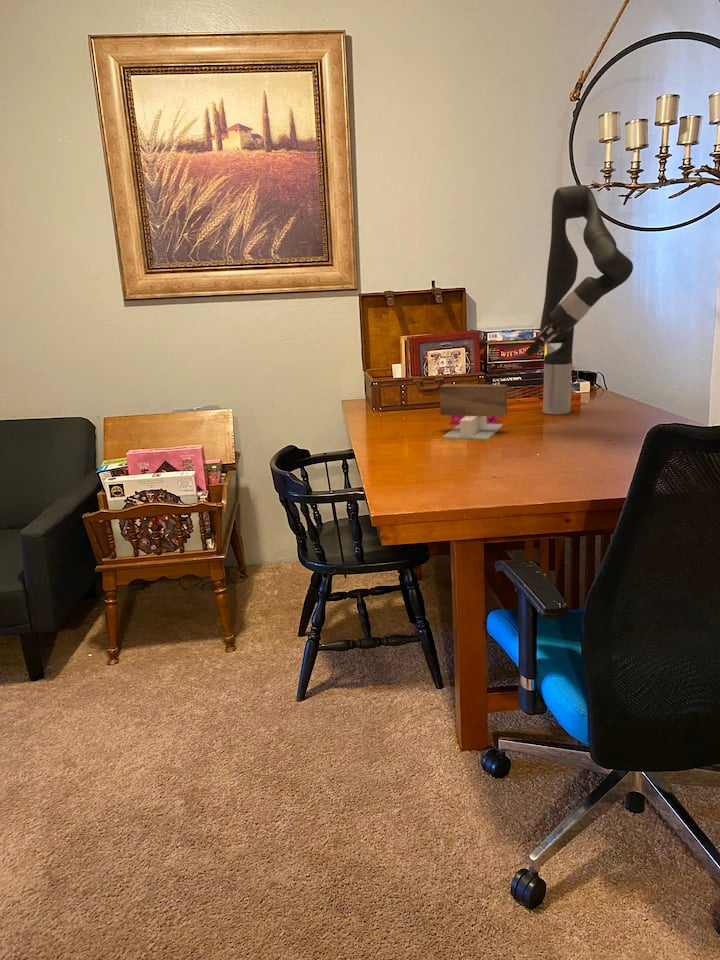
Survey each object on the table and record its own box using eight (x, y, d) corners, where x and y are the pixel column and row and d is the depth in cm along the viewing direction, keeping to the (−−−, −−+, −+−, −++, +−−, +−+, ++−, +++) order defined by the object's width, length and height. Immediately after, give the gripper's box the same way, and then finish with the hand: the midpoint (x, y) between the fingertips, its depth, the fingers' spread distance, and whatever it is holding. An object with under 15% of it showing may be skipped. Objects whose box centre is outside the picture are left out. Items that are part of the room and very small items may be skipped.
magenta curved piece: (495, 421, 234) (495, 399, 232) (497, 425, 228) (497, 402, 226) (450, 423, 235) (450, 401, 233) (451, 426, 229) (451, 404, 227)
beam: (444, 412, 221) (444, 384, 218) (507, 413, 213) (507, 384, 211) (440, 415, 217) (439, 386, 214) (504, 416, 209) (504, 386, 207)
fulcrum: (461, 425, 229) (461, 407, 227) (503, 426, 223) (503, 408, 222) (442, 440, 210) (441, 420, 208) (487, 441, 204) (487, 421, 202)
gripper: (564, 300, 204) (525, 341, 212) (557, 303, 192) (516, 346, 200) (583, 318, 203) (543, 358, 211) (576, 322, 191) (535, 364, 199)
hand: (530, 352), depth 205 cm, fingers open, 8 cm apart
